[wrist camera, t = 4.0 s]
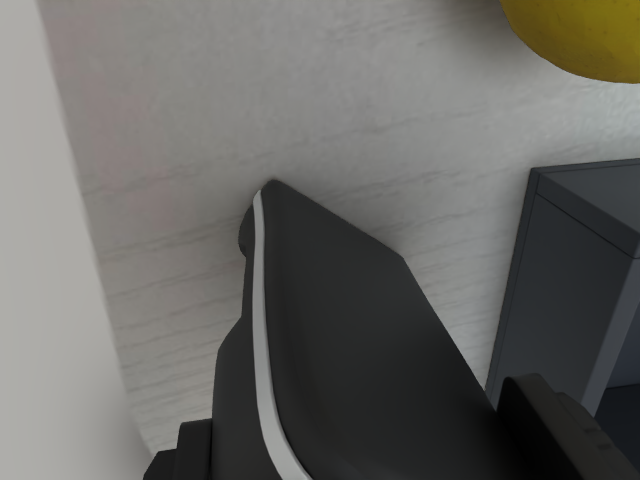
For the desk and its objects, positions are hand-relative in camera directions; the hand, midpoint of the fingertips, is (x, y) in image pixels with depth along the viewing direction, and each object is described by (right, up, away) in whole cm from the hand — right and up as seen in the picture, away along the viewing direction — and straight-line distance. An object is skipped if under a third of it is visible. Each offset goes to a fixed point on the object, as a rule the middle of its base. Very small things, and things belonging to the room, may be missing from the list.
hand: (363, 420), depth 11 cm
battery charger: (-1, +4, +7) cm, 8 cm away
